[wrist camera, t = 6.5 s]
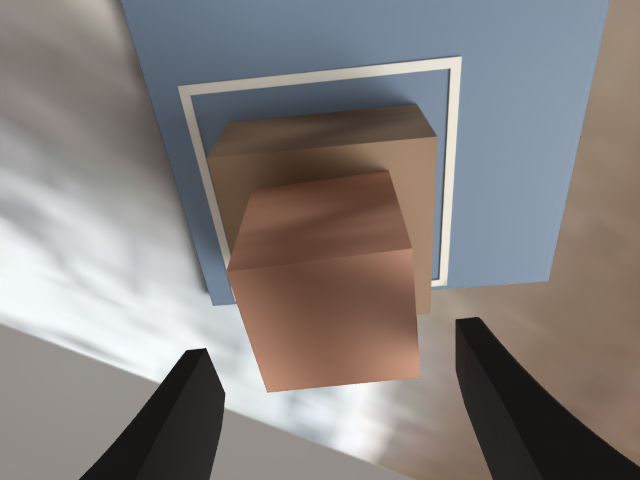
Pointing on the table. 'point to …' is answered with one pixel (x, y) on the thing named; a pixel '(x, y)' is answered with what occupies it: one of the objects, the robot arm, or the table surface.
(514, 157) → the board
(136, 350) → the table surface
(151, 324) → the table surface
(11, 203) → the table surface
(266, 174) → the walnut slab
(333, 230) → the terracotta cube
